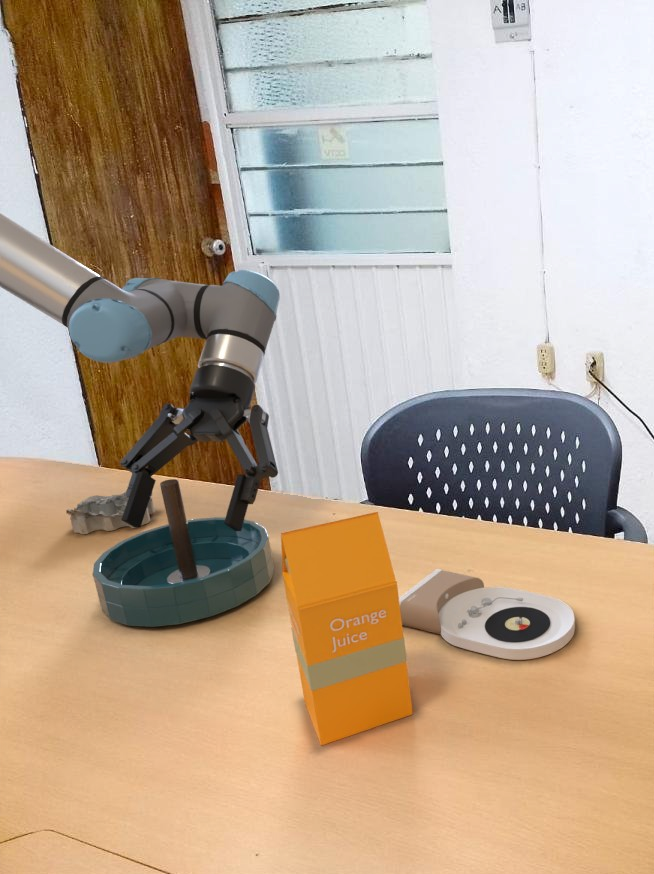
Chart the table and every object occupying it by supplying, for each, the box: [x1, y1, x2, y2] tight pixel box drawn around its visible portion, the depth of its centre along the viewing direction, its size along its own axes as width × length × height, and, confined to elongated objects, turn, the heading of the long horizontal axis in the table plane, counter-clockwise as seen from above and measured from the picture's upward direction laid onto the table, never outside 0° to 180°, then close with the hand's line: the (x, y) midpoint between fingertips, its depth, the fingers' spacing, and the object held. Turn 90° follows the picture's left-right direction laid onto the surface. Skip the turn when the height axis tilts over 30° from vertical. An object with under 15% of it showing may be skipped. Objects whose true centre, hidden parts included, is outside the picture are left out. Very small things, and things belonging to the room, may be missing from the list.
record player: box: [399, 568, 576, 661], centre depth 95 cm, size 12×3×20 cm
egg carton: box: [65, 491, 156, 535], centre depth 124 cm, size 11×8×4 cm
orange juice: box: [280, 511, 414, 746], centre depth 78 cm, size 8×9×20 cm
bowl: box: [92, 516, 275, 628], centre depth 104 cm, size 20×20×6 cm
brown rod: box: [159, 478, 211, 584], centre depth 102 cm, size 5×5×14 cm
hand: (181, 526), depth 102 cm, fingers open, 13 cm apart
